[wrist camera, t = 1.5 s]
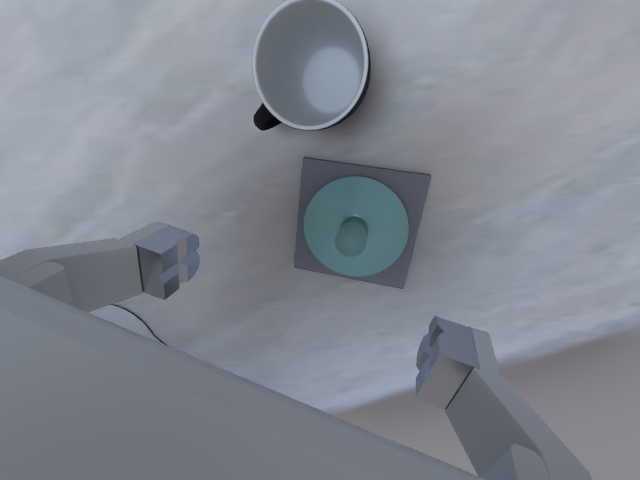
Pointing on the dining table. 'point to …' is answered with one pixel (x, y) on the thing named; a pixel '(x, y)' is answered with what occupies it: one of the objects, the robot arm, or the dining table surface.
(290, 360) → the dining table surface
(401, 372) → the dining table surface
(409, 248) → the mat
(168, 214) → the dining table surface
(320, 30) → the mug
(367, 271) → the lid
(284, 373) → the dining table surface
